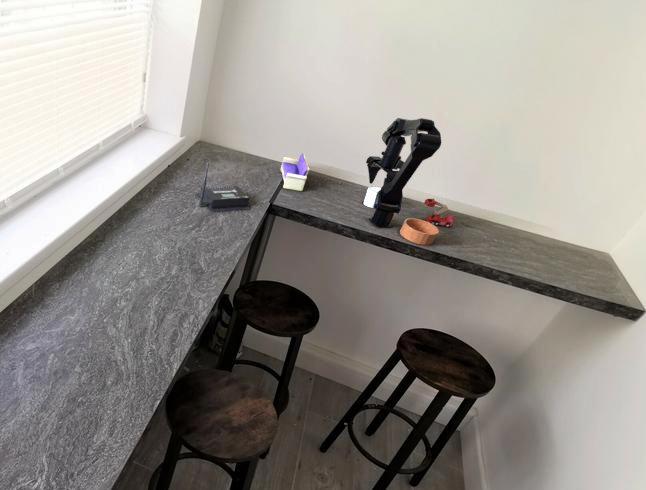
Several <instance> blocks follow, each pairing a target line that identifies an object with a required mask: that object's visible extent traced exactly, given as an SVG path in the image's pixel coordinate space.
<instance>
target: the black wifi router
mask: <svg viewBox="0 0 646 490" xmlns="http://www.w3.org/2000/svg"><path fill="white" fill-rule="evenodd" d="M209 166H210V163H209V162H207V164H206V169H205V175H204V178H203V181H202V185H201V186H202V187H201V188H200V191H199V192H200V193H199V194H198V197H199V202H198V206H199V207H202V206H208V208H209V209H210V210H211V211H212V212H225V211H226V212H227V211H241V210H250V207H249V203H250V200H251V197H250V196H249V195H248V194H247V193H246V192H245V191H244V190H243V189H241V188H240V187H239V186H238V185H233V186H227V187H226V186H222V187H221V186H220V187H217V186H216V187H207V178H208V171H209V168H210V167H209Z"/></svg>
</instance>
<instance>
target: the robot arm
mask: <svg viewBox="0 0 646 490" xmlns="http://www.w3.org/2000/svg"><path fill="white" fill-rule="evenodd" d="M424 132H425V133H424ZM406 137H410V153H409V155H408V156H407V158H406V159H405V161H403V160H402V156H401V153H402V150H403V148H404V146H405V145H406V144H407V141H406ZM381 140H382V142H383V143H384V145H385V146H386V147H385V149H384V151H381V153H380V155H382V157H381V156H373V155H370V156H368V157H367V159H366V161H365V163H366V167H367V170H368V181H369V182H368V183H369V184H371V185H372V184H373V183H374V181H375V180H376V177H377V175H378V173H379V172H380V171H381V170H382V171H384V172H385V173H386V177H384V179H383V185H382V186H381V187H380V188H381V190H380V191H378V193H377V195H376V199H375V202H374V206H373V207H374V208H373V209H375V211H374V213H373V215H372V217H369V218H368V220H369V221H370V222H371V223H372V224H373V225H374V226H375V227H376V228H392V225H391V222H392V220H393V218H394V216H395V214H399V213H400V212H401V210H402V204H403V203H402V202H403V197H404V194H403V190H404V188H405V187H406V186H407V184H408V183H409V181H410V180H411V178H412V177H413V176H414V174H415V173H416V171H417V170H418V168H419V167H420V166H421V164H422V163H423V162H424V161H425V160H427V159H429V158H431V157H433V156H434V155H435V154H436V152H437V151H439V149H440V148H441V146H442V135H441V132H440V131H439V129H438V128H437V127H436V126H435V121H434V120H433V119H429V118H424V117H423V118H422V117H421V118H416V119H407V118H402V117H401V118H400V117H397V118H396V119H395V120H393V121H392V123H391V124H389V126H388V127H387V128H386V130H385V131H384V132H383V133H382V135H381Z"/></svg>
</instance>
